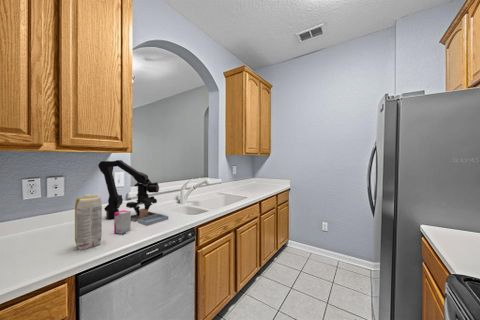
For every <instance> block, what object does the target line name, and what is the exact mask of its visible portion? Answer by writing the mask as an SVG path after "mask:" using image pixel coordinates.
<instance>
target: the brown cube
mask: <svg viewBox="0 0 480 320" xmlns="http://www.w3.org/2000/svg"><path fill="white" fill-rule="evenodd" d="M148 211H149V209H145V207H144V208H139V216H137V218H141V217H145V216H148Z"/></svg>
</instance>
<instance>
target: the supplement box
mask: <svg viewBox="0 0 480 320" xmlns="http://www.w3.org/2000/svg"><path fill="white" fill-rule="evenodd" d="M131 215H132V213H131V210H119V212H115V213H114V219H113V224H114V225H113V233H114V234H117V235H120V236H121V235H124V234H126V233H128V232H130V231H131V222H132V221H131Z"/></svg>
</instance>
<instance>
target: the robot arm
mask: <svg viewBox="0 0 480 320" xmlns="http://www.w3.org/2000/svg"><path fill="white" fill-rule="evenodd" d="M97 165H98V169H99V171H100V172H101V174H103V177H104V181H105V184H106V189H107V191H108V192H107V193H108V200H107V202H108V203H107V205H106V206H105V207H104V208H103V209H104V212H105V213H106V214H105V216H106V217H105V218H104V219H106V220H108V221H112V220H114V213H115V212H119V211H120V210H119V208H120V207H121V205H122V204H123V201H124V199H123V195H122V194H119V193H118V190H117V186H116V182H115V179H114V174H113V172H114V167H118V168H120V169H121V170H123V171H124V172H126V173H127V174H128V175H130V176H132V178H133V179H134V180H135V182H136V184H134V187H137V193H136V196H137V199H136V202H135V201H128V202H127V203H125V204H126V205H125V206H126V208H129V209H133V210H134V211H135V213H136V214H137V216H139V209H141V205H144V209H148V210H149V209H150V207H151V206H153V204H157V202H158V199H157V198H155V196H153V195H152V196H149V193H150V194H151V193H159V191H160V186H159V183H158V182H152V181H151V180H150V178H149V176H148V175H147V174H145V173H144V172H141V171H138V170H136V169H135V168H133V167H132V166H130V165H129V164H127V163H126V162H124V160H121V159H116V160H112V161H110V160H102V161H100V162H99V163H98V164H97ZM136 214H135V215H136Z"/></svg>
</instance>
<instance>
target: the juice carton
mask: <svg viewBox="0 0 480 320" xmlns="http://www.w3.org/2000/svg"><path fill="white" fill-rule="evenodd" d="M102 206H103V204H102V200H101V197H100V196H98V195H92V194H91V193H89V194H84V197H76V198H75V203H74V242H75V244H76V247H77V248H78V250H80V251H81V250H86V249H89V248H92V247H96V246H99V245H100V244H101V241H102V235H103V234H102V231H103V230H102V223H103V220H102V218H103V214H102V212H103V211H102V209H103V207H102Z"/></svg>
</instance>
